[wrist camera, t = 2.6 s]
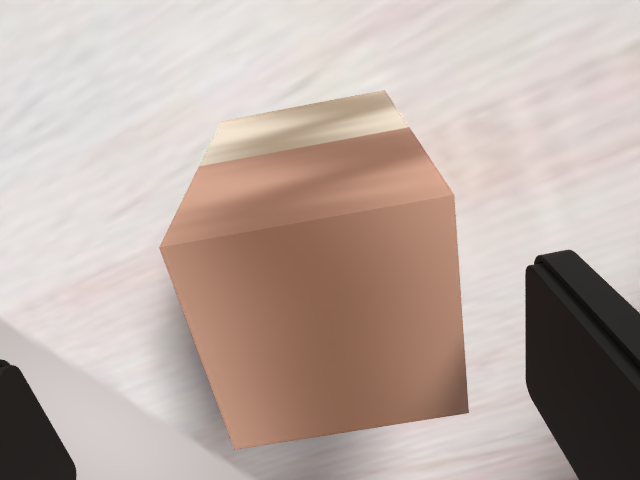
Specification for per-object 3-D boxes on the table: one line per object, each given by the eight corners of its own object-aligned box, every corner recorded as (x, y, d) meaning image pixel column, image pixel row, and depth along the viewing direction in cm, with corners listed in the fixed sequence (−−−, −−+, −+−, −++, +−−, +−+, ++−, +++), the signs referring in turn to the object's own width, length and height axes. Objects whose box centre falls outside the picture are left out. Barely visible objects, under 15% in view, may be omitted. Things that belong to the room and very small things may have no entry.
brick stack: (384, 89, 16) (454, 194, 9) (402, 236, 18) (468, 412, 11) (221, 121, 16) (159, 247, 9) (259, 261, 18) (234, 449, 11)
